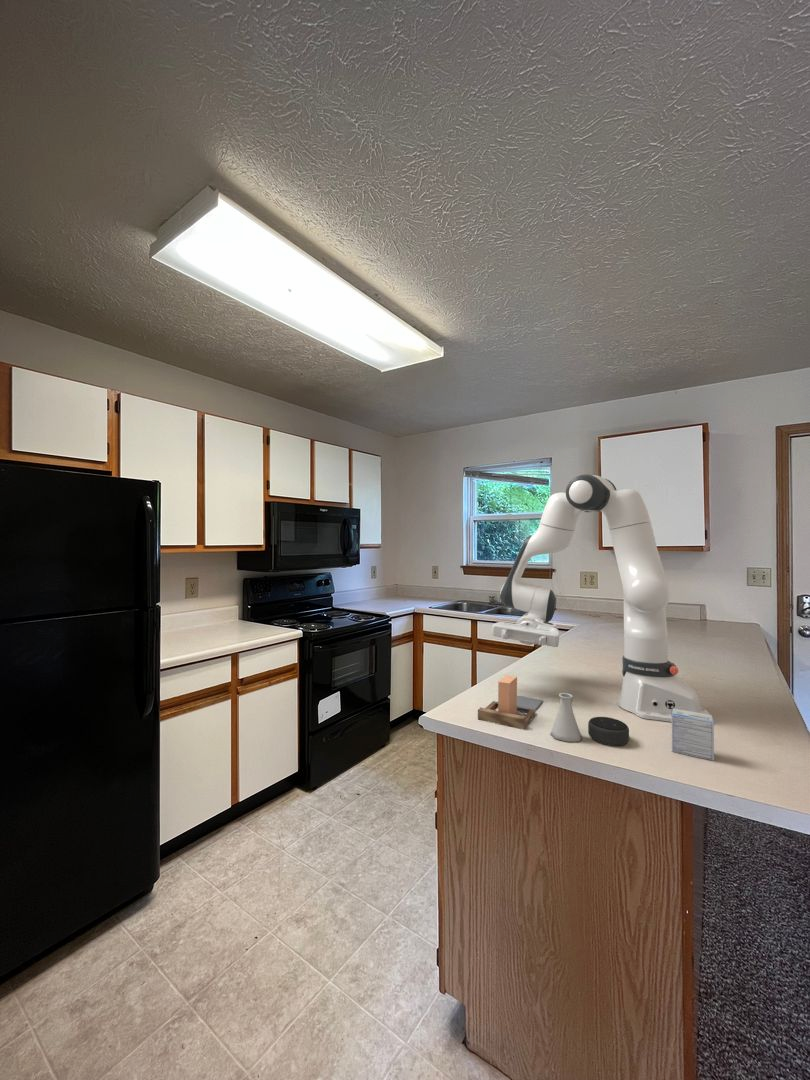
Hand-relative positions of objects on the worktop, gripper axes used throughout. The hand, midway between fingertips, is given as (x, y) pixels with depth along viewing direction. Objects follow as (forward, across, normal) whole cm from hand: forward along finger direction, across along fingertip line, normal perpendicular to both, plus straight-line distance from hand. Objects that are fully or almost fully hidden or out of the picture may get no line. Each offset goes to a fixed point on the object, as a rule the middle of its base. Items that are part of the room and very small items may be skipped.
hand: (521, 639), depth 128 cm
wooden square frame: (+12, 0, +18) cm, 22 cm away
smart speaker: (+16, +25, +17) cm, 34 cm away
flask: (+19, +15, +17) cm, 30 cm away
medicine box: (+16, +42, +15) cm, 47 cm away
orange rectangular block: (+12, 0, +19) cm, 22 cm away
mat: (0, +1, +19) cm, 19 cm away
